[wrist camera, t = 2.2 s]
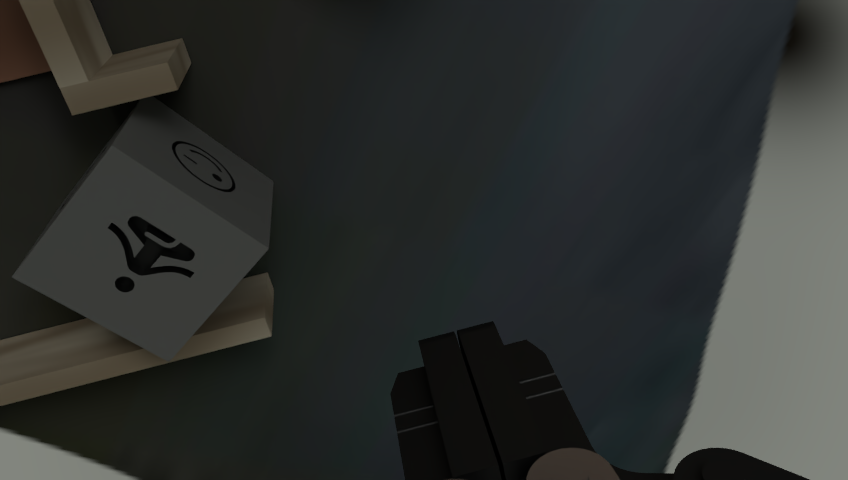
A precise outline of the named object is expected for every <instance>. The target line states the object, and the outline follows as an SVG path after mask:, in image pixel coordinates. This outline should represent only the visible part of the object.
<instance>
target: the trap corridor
mask: <svg viewBox="0 0 848 480" xmlns="http://www.w3.org/2000/svg"><path fill="white" fill-rule="evenodd" d="M190 65H191V60H190V58H189V55H188V52H187V49H186V47H185V44H184V41H183V38H181V39H176V40H172V41H168V42H164V43H160V44H156V45H151V46H147V47H143V48H139V49H135V50H131V51H126V52H122V53H118V54H114V55H113V54H112V52H111V49H110V47H109V45H108V42H107V40H106V37H105V35H104V33H103V30H102V28H101V25H100V23H99V21H98V18H97V16H96V13H95V11H94V9H93V6H92V4H91V1H90V0H0V83H2V82H6V81H10V80H15V79H19V78H23V77H27V76H31V75H35V74H40V73H44V72H48V71H52V73H53V75H54V77H55V79H56V81H57V84H58V86H59V88H60V90H61V92H62V94H63V97H64V99H65V101H66V103H67V105H68V107H69V109H70V112H71V114H72V115H76V114H81V113H85V112H89V111H93V110H97V109H101V108H105V107H110V106H114V105H118V104H122V103H126V102H130V101H134V100H138V99H143V98H147V97H151V96H155V95H159V94H163V93H167V92H171V91H176V90H178V89H179V87H180V85H181V83H182V81H183V79H184V77H185V75H186V73H187V71H188V69H189V67H190ZM273 301H274V288H273V286H272V283H271V280H270V277H269V275H268V272H267V273H263V274H259V275H255V276H251V277H247V278H243V279H242V280H241V281H240V282H239V283H238V284H237V286H236V287H235V288H234V289H233V290H232V291H231V292H230V293H229V295H228V296H227V297H226V298H225V299H224V300H223V301H222V303H221V304H220V305H219V306H218V307H217V308H216V309H215V311H214V312H213V313H212V314H211V315H210V316H209V317H208V319H207V320H206V321H205V322H204V323H203V324H202V325H201V326H200V328H199V329H198V330H197V331H196V332H195V333H194V334H193V336H192V337H191V338H190V339H189V340H188V341H187V342H186V344H185V345H184V346H183V347H182V348H181V349H180V350H179V351H178V353H177V354H176V355H175V356H174V357H173V358H172V359H171V361H170V362H174V361H178V360H181V359H185V358H189V357H193V356H197V355H201V354H205V353H209V352H213V351H216V350H220V349H224V348H228V347H232V346H236V345H240V344H244V343H248V342H251V341H255V340H259V339H263V338H267V337H271V336H272V320H273ZM170 362H168V361H166V360H164V359H162V358H160V357H159V356H157V355H155V354H153V353H151V352H149V351H148V350H146V349H144V348H142V347H140V346H138V345H136V344H135V343H133V342H131V341H129V340H127V339H125V338H123V337H122V336H120V335H118V334H116V333H114V332H112V331H111V330H109V329H107V328H105V327H103V326H101V325H99V324H98V323H96V322H94V321H92V320H90V319H88V318H86V319H82V320H78V321H74V322H70V323H66V324H62V325H58V326H54V327H50V328H46V329H42V330H38V331H34V332H30V333H26V334H23V335H19V336H15V337H11V338H7V339H3V340H0V406H3V405H7V404H11V403H14V402H18V401H22V400H26V399H30V398H34V397H38V396H42V395H46V394H49V393H53V392H57V391H61V390H65V389H69V388H73V387H77V386H80V385H84V384H88V383H92V382H96V381H100V380H104V379H108V378H112V377H115V376H119V375H123V374H127V373H131V372H135V371H139V370H143V369H147V368H150V367H154V366H158V365H162V364H166V363H170Z"/></svg>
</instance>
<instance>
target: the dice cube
mask: <svg viewBox="0 0 848 480" xmlns="http://www.w3.org/2000/svg"><path fill="white" fill-rule="evenodd" d="M273 185H274V181H272V180H271V179H269V178H268V177H267V176H265V175H264V174H262V173H261V172H260V171H258V170H257V169H255V168H254V167H252V166H251V165H250V164H248V163H247V162H245V161H244V160H243V159H241V158H240V157H238V156H237V155H235V154H234V153H233V152H231V151H230V150H228V149H227V148H226V147H224V146H223V145H221V144H220V143H219V142H217V141H216V140H214V139H213V138H211V137H210V136H209V135H207V134H206V133H204V132H203V131H202V130H200V129H199V128H197V127H196V126H194V125H193V124H192V123H190V122H189V121H187V120H186V119H185V118H183V117H182V116H180V115H179V114H177V113H176V112H175V111H173V110H172V109H170V108H169V107H168V106H166V105H165V104H163V103H162V102H161V101H159V100H158V99H156V98H155V97H153V96H151V97H147V98H143V99H140V101H139V102H138V103H137V105H136V106H135V107H134V108H133V110H132V111H131V112H130V114H129V115H128V116H127V118H126V119H125V120H124V122H123V123H122V124H121V126H120V127H119V128H118V130H117V131H116V132H115V134H114V135H113V136H112V138H111V139H110V140H109V142H108V143H107V144H106V145H105V147H104V148H103V149H102V151H101V152H100V153H99V155H98V156H97V157H96V159H95V160H94V161H93V163H92V164H91V165H90V167H89V168H88V169H87V171H86V172H85V173H84V175H83V176H82V177H81V178H80V180H79V181H78V182H77V184H76V185H75V186H74V188H73V189H72V190H71V192H70V193H69V194H68V196H67V197H66V198H65V200H64V201H63V202H62V204H61V205H60V207H59V208H58V210H57V211H56V212H55V214H54V215H53V217H52V218H51V220H50V221H49V223H48V224H47V226H46V227H45V229H44V230H43V232H42V233H41V235H40V236H39V238H38V239H37V241H36V242H35V243H34V245H33V246H32V248H31V249H30V251H29V252H28V254H27V255H26V257H25V258H24V260H23V261H22V263H21V264H20V266H19V267H18V269H17V270H16V271H15V273H14V274H13V276H12V278H14V279H16V280H18V281H20V282H22V283H24V284H25V285H27V286H29V287H31V288H33V289H35V290H37V291H38V292H40V293H42V294H44V295H46V296H48V297H49V298H51V299H53V300H55V301H57V302H59V303H61V304H62V305H64V306H66V307H68V308H70V309H72V310H74V311H75V312H77V313H79V314H81V315H83V316H85V317H86V318H88V319H90V320H92V321H94V322H96V323H98V324H99V325H101V326H103V327H105V328H107V329H109V330H111V331H112V332H114V333H116V334H118V335H120V336H122V337H123V338H125V339H127V340H129V341H131V342H133V343H135V344H136V345H138V346H140V347H142V348H144V349H146V350H148V351H149V352H151V353H153V354H155V355H157V356H159V357H160V358H162V359H164V360H166V361H168V362H170V361H171V359H172V358H173V357H174V356H175V355H176V354H177V353H178V351H179V350H180V349H181V348H182V347H183V346H184V345H185V344H186V342H187V341H188V340H189V339H190V338H191V337H192V336H193V334H194V333H195V332H196V331H197V330H198V329H199V328H200V326H201V325H202V324H203V323H204V322H205V321H206V320H207V319H208V317H209V316H210V315H211V314H212V313H213V312H214V311H215V309H216V308H217V307H218V306H219V305H220V304H221V303H222V301H223V300H224V299H225V298H226V297H227V296H228V295H229V293H230V292H231V291H232V290H233V289H234V288H235V287H236V286H237V284H238V283H239V282H240V281H241V280H242V279H243V278H244V276H245V275H246V274H247V273H248V272H249V271H250V270H251V268H252V267H253V266H254V265H255V264H256V263H257V262H258V260H259V259H260V258H261V257H262V256H263V255H264V254H265V253H266V251H267V250H268V249H269V241H270V227H271V213H272V199H273Z"/></svg>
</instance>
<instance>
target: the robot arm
mask: <svg viewBox="0 0 848 480" xmlns="http://www.w3.org/2000/svg"><path fill="white" fill-rule="evenodd" d="M457 335H458V340H459V344H458V341H457V338H456V335H455V333H454V332H450V333H446V334H442V335H439V336H435V337H431V338H427V339H423V340H419V341H418V342H419V346H420V350H421V354H422V358H423V362H424V367H420V368H416V369H413V370H409V371H405V372H401V373H398V375H397V378H396V380H395V383H394V386H393V388H392V391H391V399H392V405H393V411H394V416H395V423H396V428H397V433H398V440H399V446H400V452H401V457H402V463H403V469H404V475H405V480H809V479H807V478H804V477H802V476H799V475H797V474H794V473H792V472H789V471H787V470H784V469H782V468H779V467H777V466H774V465H772V464H769V463H767V462H764V461H762V460H759V459H757V458H754V457H752V456H749V455H747V454H744V453H741V452H738V451H735V450H731V449H726V448H725V449H724V448H708V449H702V450H698V451H696V452H693V453H691V454H689V455H687V456H686V457H685V458H683V459H682V460H681V461H680V463H679V464H678V465H677V467H676V469H675V472H674V474H665V473H636V472H630V471H626V470H623V469H620V468H617V467H615V466H613V465H611V464H609V462H608V461H606V460H605V459H604V458H603V457H601V456H600V455H598V454H597V453H596V452H595V451H594V449H593V447H592V446H591V444H590V442H589V440H588V438H587V436H586V434H585V432H584V430H583V428H582V426H581V424H580V422H579V420H578V418H577V416H576V414H575V412H574V410H573V408H572V406H571V404H570V402H569V400H568V398H567V396H566V394H565V392H564V391H563V390H562V386H561V384H560V382H559V380H558V378H557V376H556V375H555V373H554V370H553V368H552V366H551V364H550V362H549V360H548V358H547V356H546V354H545V353H544V352H543V351H541V350H540V349H538V348H537V347H536V346H534V345H533V344H532V343H530V342H529V341H527V340H523V341H519V342H516V343H512V344H508V345H503V343H502V340H501V338H500V336H499V333H498V331H497V329H496V326H495V324H494V322H493V321H492V322H488V323H484V324H480V325H477V326H473V327H469V328H465V329H461V330H457ZM459 345H460V347H459ZM460 349H461V350H460Z"/></svg>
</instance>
